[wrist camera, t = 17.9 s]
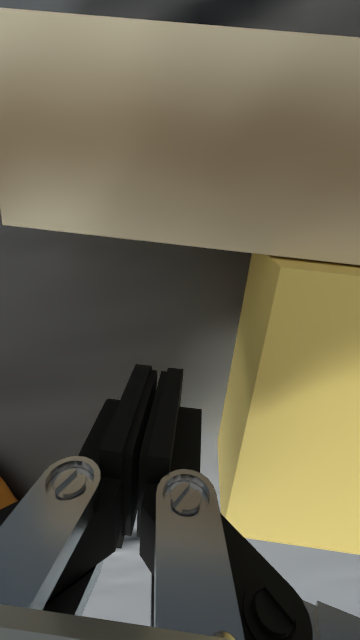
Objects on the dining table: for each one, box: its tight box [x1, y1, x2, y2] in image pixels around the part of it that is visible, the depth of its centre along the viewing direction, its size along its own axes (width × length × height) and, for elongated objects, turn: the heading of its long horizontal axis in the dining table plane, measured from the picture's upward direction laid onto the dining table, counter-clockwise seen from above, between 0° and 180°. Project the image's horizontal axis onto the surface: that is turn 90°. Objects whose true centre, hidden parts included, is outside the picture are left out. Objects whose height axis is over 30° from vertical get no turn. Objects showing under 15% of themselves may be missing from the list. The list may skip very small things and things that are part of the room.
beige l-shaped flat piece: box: [0, 8, 360, 265], centre depth 12 cm, size 17×22×4 cm
